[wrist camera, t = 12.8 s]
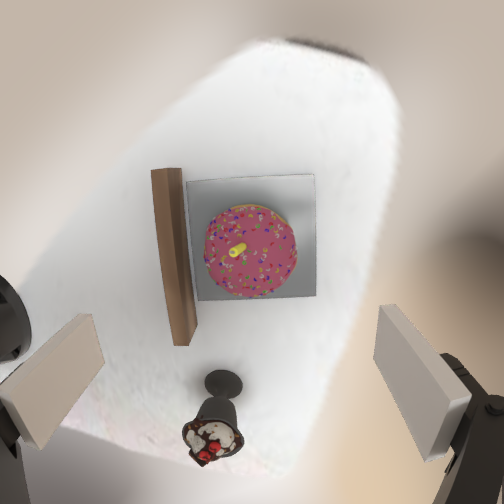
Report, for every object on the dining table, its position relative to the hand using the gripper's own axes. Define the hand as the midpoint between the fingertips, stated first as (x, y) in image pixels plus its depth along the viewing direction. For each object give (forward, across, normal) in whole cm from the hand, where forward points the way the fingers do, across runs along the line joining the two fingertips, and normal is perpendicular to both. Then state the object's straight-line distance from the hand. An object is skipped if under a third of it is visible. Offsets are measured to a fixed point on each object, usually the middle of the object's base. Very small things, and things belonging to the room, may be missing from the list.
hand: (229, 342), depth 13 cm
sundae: (+22, -5, -19) cm, 29 cm away
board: (+21, 0, 0) cm, 21 cm away
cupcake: (+21, 0, 0) cm, 21 cm away
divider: (+22, -8, -1) cm, 23 cm away
